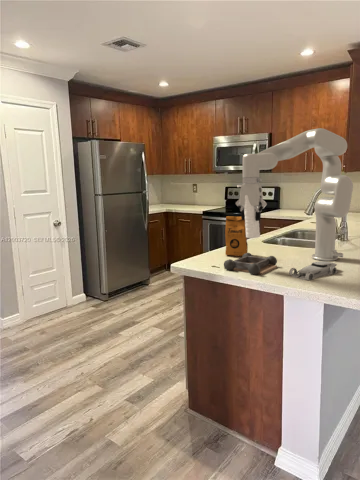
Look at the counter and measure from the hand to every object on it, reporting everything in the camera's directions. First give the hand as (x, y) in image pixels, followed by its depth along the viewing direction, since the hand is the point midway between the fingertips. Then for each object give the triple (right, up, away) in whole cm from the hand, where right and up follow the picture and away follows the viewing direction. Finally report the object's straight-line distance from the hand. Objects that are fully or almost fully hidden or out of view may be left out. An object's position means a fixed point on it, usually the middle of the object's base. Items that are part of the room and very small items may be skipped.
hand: (250, 219), depth 165 cm
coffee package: (-1, -18, +32) cm, 37 cm away
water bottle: (0, -9, +2) cm, 9 cm away
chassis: (+1, -23, +4) cm, 23 cm away
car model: (+27, -25, -8) cm, 38 cm away
